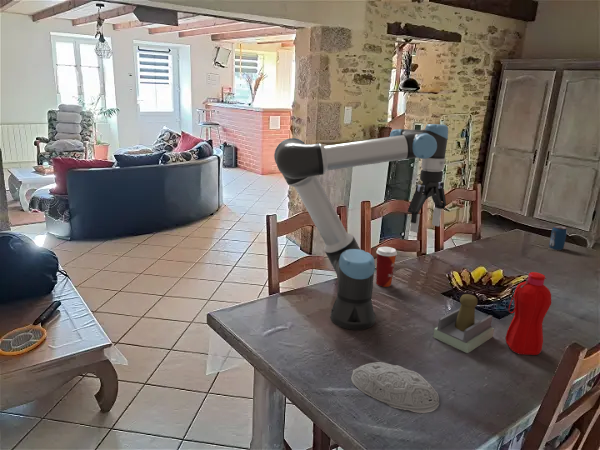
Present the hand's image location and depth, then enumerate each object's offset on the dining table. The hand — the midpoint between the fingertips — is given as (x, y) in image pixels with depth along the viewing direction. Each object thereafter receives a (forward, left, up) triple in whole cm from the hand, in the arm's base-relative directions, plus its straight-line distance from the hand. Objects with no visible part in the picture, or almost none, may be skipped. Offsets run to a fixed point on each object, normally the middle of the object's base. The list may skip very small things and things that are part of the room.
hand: (425, 228), depth 163 cm
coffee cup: (+3, +18, -29) cm, 34 cm away
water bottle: (-2, -40, -29) cm, 49 cm away
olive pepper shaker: (-10, -25, -25) cm, 37 cm away
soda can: (+116, -7, -29) cm, 120 cm away
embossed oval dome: (-49, -27, -29) cm, 64 cm away
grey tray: (-10, -25, -29) cm, 39 cm away
